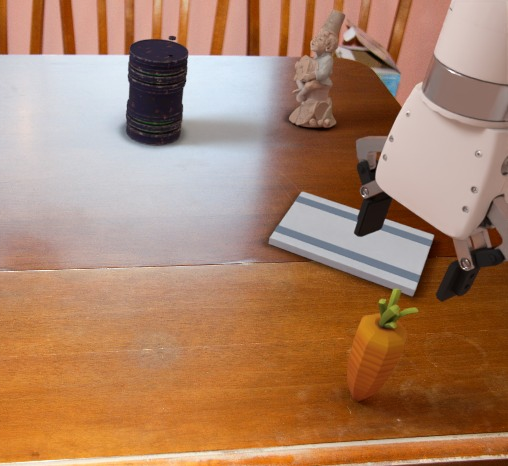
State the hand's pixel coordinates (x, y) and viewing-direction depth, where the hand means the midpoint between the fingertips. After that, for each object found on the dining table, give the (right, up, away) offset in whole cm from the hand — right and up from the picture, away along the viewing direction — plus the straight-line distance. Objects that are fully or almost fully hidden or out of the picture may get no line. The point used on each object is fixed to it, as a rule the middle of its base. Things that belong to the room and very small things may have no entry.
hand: (406, 261), depth 59 cm
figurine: (+6, +24, +64) cm, 68 cm away
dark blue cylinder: (-23, +20, +56) cm, 64 cm away
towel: (+5, +1, +34) cm, 34 cm away
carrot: (-1, -15, +11) cm, 19 cm away
